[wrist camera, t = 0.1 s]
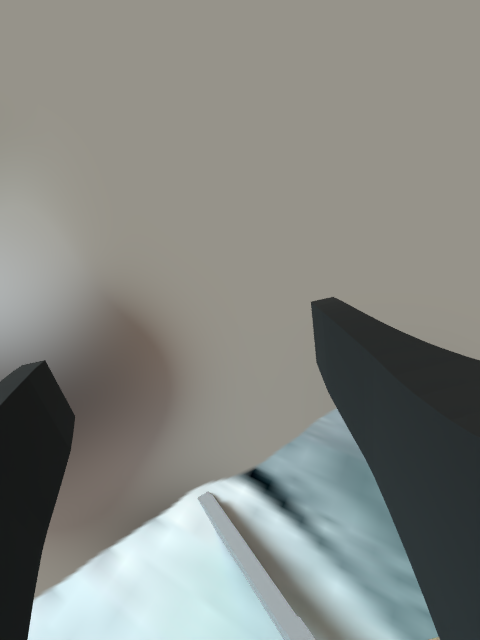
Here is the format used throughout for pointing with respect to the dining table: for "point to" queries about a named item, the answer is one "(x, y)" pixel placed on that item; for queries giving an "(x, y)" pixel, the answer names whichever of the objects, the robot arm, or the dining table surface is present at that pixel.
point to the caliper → (255, 574)
